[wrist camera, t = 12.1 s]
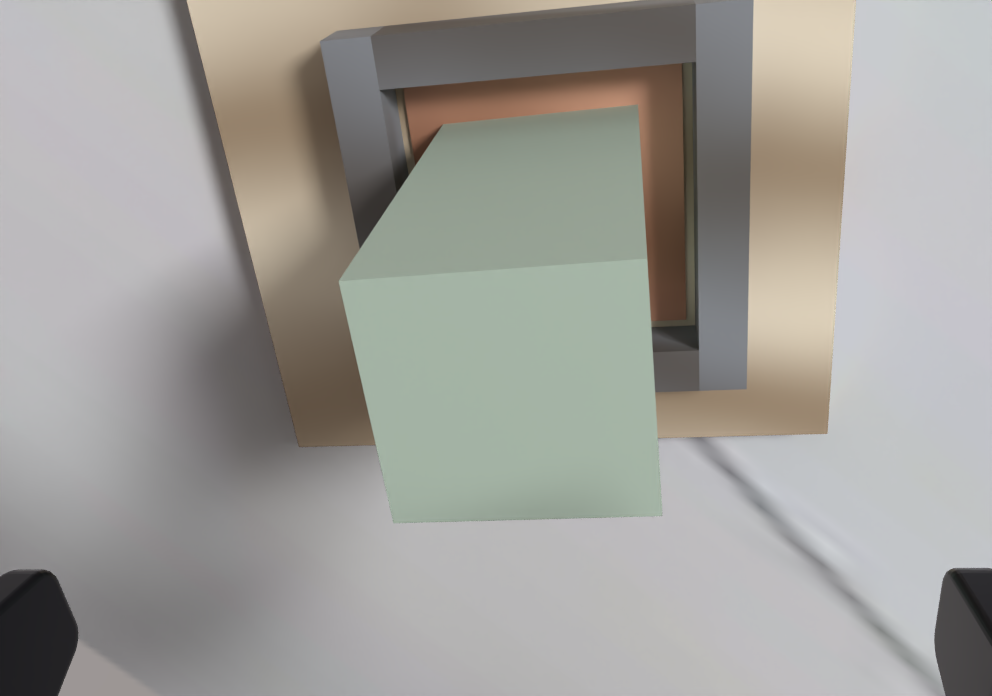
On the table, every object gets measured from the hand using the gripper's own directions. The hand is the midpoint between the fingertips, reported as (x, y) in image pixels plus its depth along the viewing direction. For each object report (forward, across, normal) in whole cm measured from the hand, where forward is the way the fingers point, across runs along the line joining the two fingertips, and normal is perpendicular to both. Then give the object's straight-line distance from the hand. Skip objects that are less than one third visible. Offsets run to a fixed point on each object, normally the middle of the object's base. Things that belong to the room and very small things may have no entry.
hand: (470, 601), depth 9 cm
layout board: (+13, 0, -1) cm, 13 cm away
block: (+12, 0, 0) cm, 12 cm away
